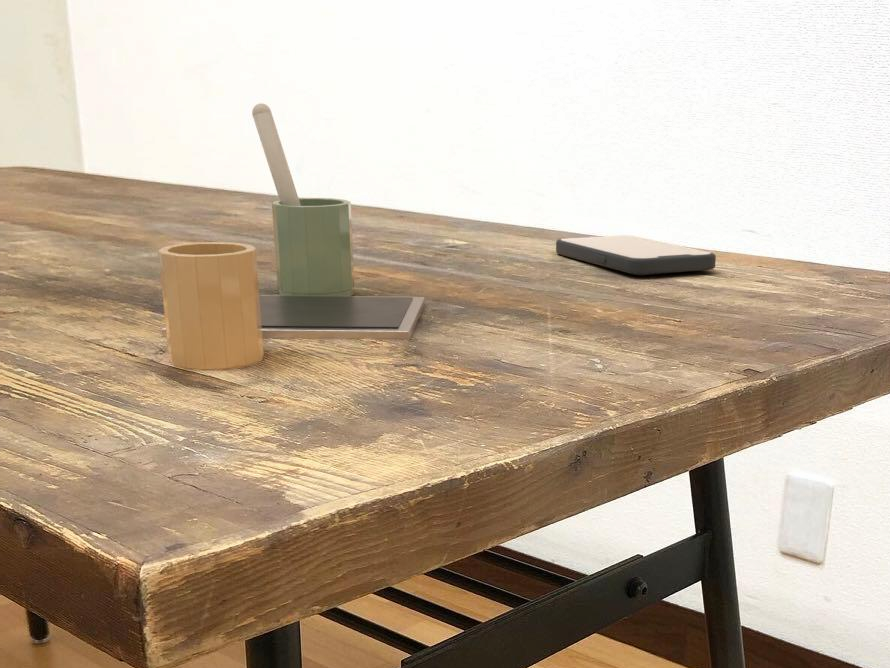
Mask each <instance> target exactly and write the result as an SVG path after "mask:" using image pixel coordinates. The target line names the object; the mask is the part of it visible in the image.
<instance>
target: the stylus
mask: <svg viewBox="0 0 890 668" xmlns="http://www.w3.org/2000/svg"><path fill="white" fill-rule="evenodd" d="M251 115H252V118H253V122H254V124H255V128H256V130H257V134H258V137H259V140H260V143H261V146H262V149H263V153H264V155H265V159H266V162H267V165H268V168H269V171H270V175H271V177H272V180H273V184H274V187H275V190H276V192H277V197H278V200H280V202H281V204H284V205H293V206H301V205H300V201H299V198H300V197H299V195H298V192H297V189H296V186H295V183H294V180H293V177H292V173H291V171H290V167H289V164H288V161H287V157H286V154H285V151H284V147H283V145H282V141H281V138H280V135H279V132H278V129H277V126H276V123H275V120H274V115H273V113H272V110H271V108H270V107H269V106H268V105H267V104H266V103H257V104H255V105H254V106H253V108H252V111H251Z"/></svg>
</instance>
